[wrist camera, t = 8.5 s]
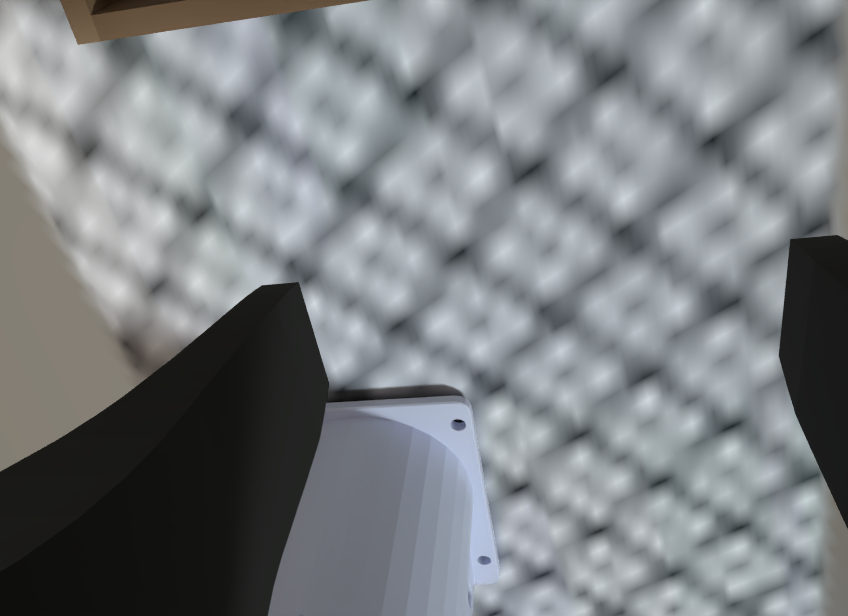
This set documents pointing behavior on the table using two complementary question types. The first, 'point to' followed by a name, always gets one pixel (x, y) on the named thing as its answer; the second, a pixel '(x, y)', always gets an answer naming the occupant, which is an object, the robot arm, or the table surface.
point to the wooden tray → (169, 14)
